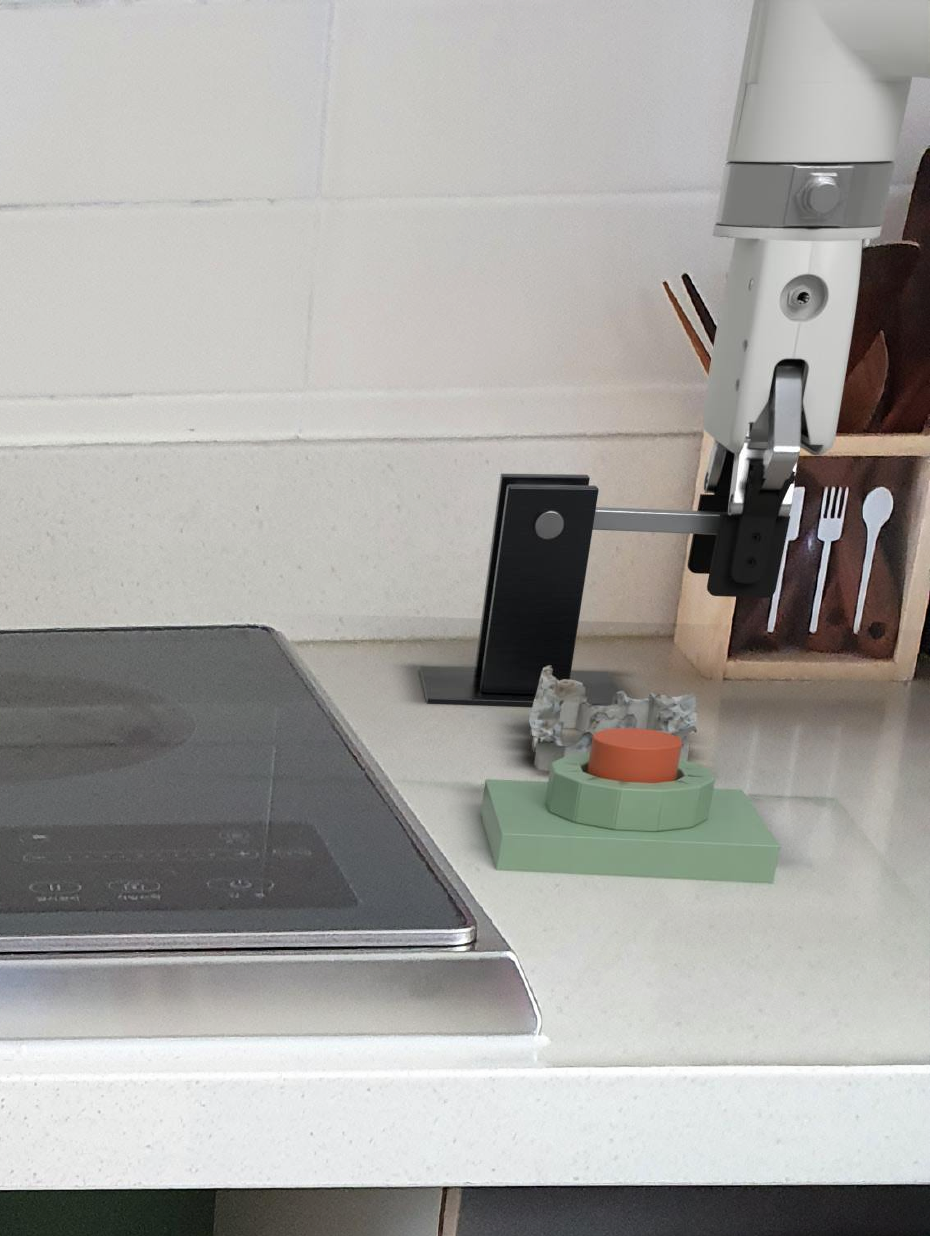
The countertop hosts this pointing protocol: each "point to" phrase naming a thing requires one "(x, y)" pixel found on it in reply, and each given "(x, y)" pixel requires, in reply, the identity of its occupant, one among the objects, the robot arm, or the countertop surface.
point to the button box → (627, 826)
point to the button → (634, 755)
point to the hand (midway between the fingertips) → (729, 580)
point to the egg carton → (600, 717)
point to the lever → (656, 520)
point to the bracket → (529, 597)
